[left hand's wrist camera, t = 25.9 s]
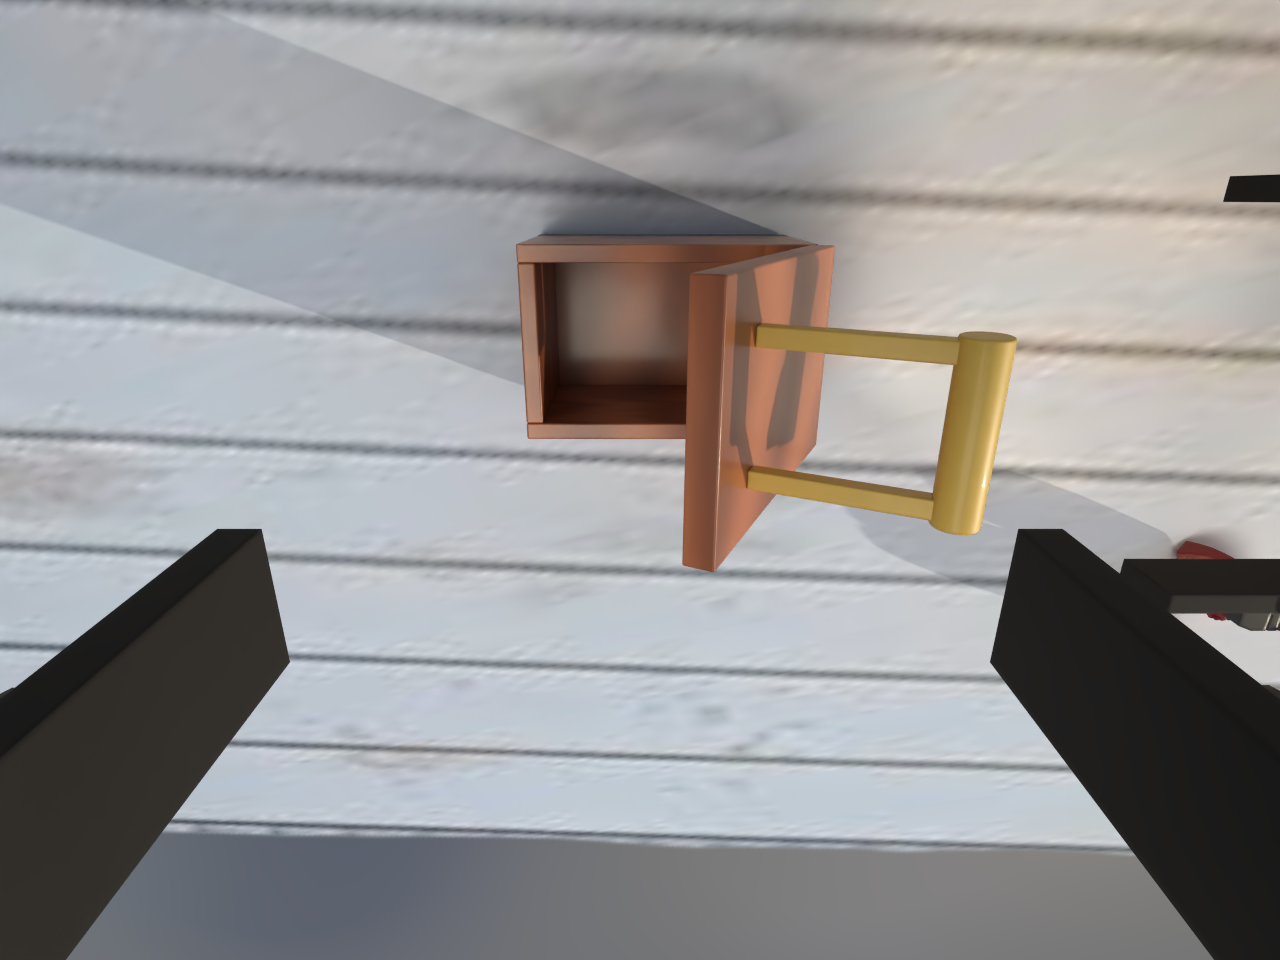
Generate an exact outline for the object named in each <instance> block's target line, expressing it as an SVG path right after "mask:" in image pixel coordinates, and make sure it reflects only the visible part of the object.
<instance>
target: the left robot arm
mask: <svg viewBox="0 0 1280 960" xmlns="http://www.w3.org/2000/svg"><path fill="white" fill-rule="evenodd" d="M289 663H290V660H289V656H288V651H287V646H286V642H285V637H284V632H283V627H282V623H281V618H280V613H279V609H278V604H277V599H276V595H275V590H274V585H273V580H272V576H271V571H270V566H269V562H268V557H267V552H266V548H265V543H264V538H263V534H262V529H217V530H215V531H214V532H213V533H212V534H210V535H209V536H208V537H207V538H205V539H204V540H203V541H201V542H200V543H199V544H198V545H196V546H195V547H194V548H193V549H191V550H190V551H189V552H187V553H186V554H185V555H184V556H182V557H181V558H180V559H178V560H177V561H176V562H175V563H173V564H172V565H171V566H170V567H168V568H167V569H166V570H164V571H163V572H162V573H161V574H159V575H158V576H157V577H156V578H154V579H153V580H152V581H150V582H149V583H148V584H147V585H145V586H144V587H143V588H142V589H140V590H139V591H138V592H136V593H135V594H134V595H133V596H131V597H130V598H129V599H128V600H126V601H125V602H124V603H122V604H121V605H120V606H119V607H117V608H116V609H115V610H113V611H112V612H111V613H110V614H108V615H107V616H106V617H105V618H103V619H102V620H101V621H99V622H98V623H97V624H96V625H94V626H93V627H92V628H91V629H89V630H88V631H87V632H85V633H84V634H83V635H82V636H80V637H79V638H78V639H77V640H75V641H74V642H73V643H71V644H70V645H69V646H68V647H66V648H65V649H64V650H63V651H61V652H60V653H59V654H57V655H56V656H55V657H54V658H52V659H51V660H50V661H48V662H47V663H46V664H45V665H43V666H42V667H41V668H40V669H38V670H37V671H36V672H34V673H33V674H32V675H31V676H29V677H28V678H27V679H26V680H24V681H23V682H22V683H20V684H19V685H18V686H17V687H15V688H11V689H9V690H7V691H5V692H3V693H1V694H0V960H66V959H67V957H68V956H69V955H70V953H71V952H72V951H73V949H74V948H75V947H76V945H77V944H78V943H79V942H80V940H81V939H82V938H83V936H84V935H85V934H86V932H87V931H88V930H89V928H90V927H91V926H92V924H93V923H94V922H95V920H96V919H97V918H98V916H99V915H100V914H101V912H102V911H103V910H104V908H105V907H106V906H107V904H108V903H109V902H110V900H111V899H112V898H113V896H114V895H115V894H116V892H117V891H118V890H119V888H120V887H121V886H122V884H123V883H124V882H125V880H126V879H127V878H128V876H129V875H130V874H131V872H132V871H133V870H134V869H135V867H136V866H137V864H138V863H139V862H140V861H141V859H142V858H143V857H144V855H145V854H146V853H147V851H148V850H149V849H150V847H151V846H152V845H153V843H154V842H155V841H156V839H157V838H158V837H159V835H160V834H161V833H162V831H163V830H164V829H165V827H166V826H167V825H168V823H169V822H170V821H171V819H172V818H173V817H174V815H175V814H176V813H177V811H178V810H179V809H180V807H181V806H182V805H183V803H184V802H185V801H186V799H187V798H188V797H189V795H190V794H191V793H192V792H193V790H194V789H195V788H196V786H197V785H198V784H199V782H200V781H201V780H202V778H203V777H204V776H205V774H206V773H207V772H208V770H209V769H210V768H211V766H212V765H213V764H214V762H215V761H216V760H217V758H218V757H219V756H220V754H221V753H222V752H223V750H224V749H225V748H226V746H227V745H228V744H229V742H230V741H231V740H232V738H233V737H234V736H235V734H236V733H237V732H238V730H239V729H240V728H241V726H242V725H243V724H244V722H245V721H246V720H247V718H248V717H249V716H250V715H251V713H252V712H253V711H254V709H255V708H256V707H257V705H258V704H259V703H260V701H261V700H262V699H263V697H264V696H265V695H266V693H267V692H268V691H269V689H270V688H271V687H272V685H273V684H274V683H275V681H276V680H277V679H278V677H279V676H280V675H281V673H282V672H283V671H284V669H285V668H286V667H287V665H288V664H289ZM990 663H991V664H992V665H993V667H994V668H995V669H996V671H997V672H998V673H999V675H1000V676H1001V677H1002V679H1003V680H1004V681H1005V683H1006V684H1007V685H1008V687H1009V688H1010V689H1011V691H1012V692H1013V693H1014V695H1015V696H1016V697H1017V699H1018V700H1019V701H1020V703H1021V704H1022V705H1023V707H1024V708H1025V709H1026V711H1027V712H1028V713H1029V715H1030V716H1031V717H1032V718H1033V720H1034V721H1035V722H1036V724H1037V725H1038V726H1039V728H1040V729H1041V730H1042V732H1043V733H1044V734H1045V736H1046V737H1047V738H1048V740H1049V741H1050V742H1051V744H1052V745H1053V746H1054V748H1055V749H1056V750H1057V752H1058V753H1059V754H1060V756H1061V757H1062V758H1063V760H1064V761H1065V762H1066V764H1067V765H1068V766H1069V768H1070V769H1071V770H1072V772H1073V773H1074V774H1075V776H1076V777H1077V778H1078V780H1079V781H1080V782H1081V784H1082V785H1083V786H1084V788H1085V789H1086V790H1087V792H1088V793H1089V794H1090V795H1091V797H1092V798H1093V799H1094V801H1095V802H1096V803H1097V805H1098V806H1099V807H1100V809H1101V810H1102V811H1103V813H1104V814H1105V815H1106V817H1107V818H1108V819H1109V821H1110V822H1111V823H1112V825H1113V826H1114V827H1115V829H1116V830H1117V831H1118V833H1119V834H1120V835H1121V837H1122V838H1123V839H1124V841H1125V842H1126V843H1127V845H1128V846H1129V847H1130V849H1131V850H1132V851H1133V853H1134V854H1135V855H1136V857H1137V858H1138V859H1139V861H1140V862H1141V863H1142V864H1143V866H1144V867H1145V869H1146V870H1147V871H1148V872H1149V874H1150V875H1151V876H1152V878H1153V879H1154V880H1155V882H1156V883H1157V884H1158V886H1159V887H1160V888H1161V890H1162V891H1163V892H1164V894H1165V895H1166V896H1167V898H1168V899H1169V900H1170V902H1171V903H1172V904H1173V906H1174V907H1175V908H1176V910H1177V911H1178V912H1179V914H1180V915H1181V916H1182V918H1183V919H1184V920H1185V922H1186V923H1187V924H1188V926H1189V927H1190V928H1191V930H1192V931H1193V932H1194V933H1195V935H1196V936H1197V938H1198V939H1199V940H1200V942H1201V943H1202V944H1203V946H1204V947H1205V948H1206V949H1207V951H1208V952H1209V953H1210V955H1211V956H1212V957H1213V959H1214V960H1280V691H1279V690H1277V689H1275V688H1273V687H1271V686H1270V685H1261V684H1260V683H1258V682H1257V681H1256V680H1254V679H1253V678H1252V677H1251V676H1249V675H1248V674H1247V673H1246V672H1244V671H1243V670H1242V669H1240V668H1239V667H1238V666H1237V665H1235V664H1234V663H1233V662H1232V661H1230V660H1229V659H1228V658H1226V657H1225V656H1224V655H1223V654H1221V653H1220V652H1219V651H1217V650H1216V649H1215V648H1214V647H1212V646H1211V645H1210V644H1209V643H1207V642H1206V641H1205V640H1203V639H1202V638H1201V637H1200V636H1198V635H1197V634H1196V633H1195V632H1193V631H1192V630H1191V629H1189V628H1188V627H1187V626H1186V625H1184V624H1183V623H1182V622H1181V621H1179V620H1178V619H1177V618H1175V617H1174V616H1173V615H1172V614H1170V613H1169V612H1168V611H1167V610H1165V609H1164V608H1163V607H1161V606H1160V605H1159V604H1158V603H1156V602H1155V601H1154V600H1152V599H1151V598H1150V597H1149V596H1147V595H1146V594H1145V593H1144V592H1142V591H1141V590H1140V589H1138V588H1137V587H1136V586H1135V585H1133V584H1132V583H1131V582H1130V581H1128V580H1127V579H1126V578H1124V577H1123V576H1122V575H1121V574H1119V573H1118V572H1117V571H1116V570H1114V569H1113V568H1112V567H1110V566H1109V565H1108V564H1107V563H1105V562H1104V561H1103V560H1102V559H1100V558H1099V557H1098V556H1096V555H1095V554H1094V553H1093V552H1091V551H1090V550H1089V549H1087V548H1086V547H1085V546H1084V545H1082V544H1081V543H1080V542H1079V541H1077V540H1076V539H1075V538H1073V537H1072V536H1071V535H1070V534H1068V533H1067V532H1066V531H1065V530H1063V529H1018V534H1017V538H1016V543H1015V548H1014V552H1013V557H1012V562H1011V566H1010V571H1009V576H1008V580H1007V585H1006V590H1005V595H1004V599H1003V604H1002V609H1001V613H1000V618H999V623H998V627H997V632H996V637H995V642H994V646H993V651H992V656H991V660H990Z"/></svg>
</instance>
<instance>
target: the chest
mask: <svg viewBox="0 0 1280 960" xmlns="http://www.w3.org/2000/svg"><path fill="white" fill-rule="evenodd" d="M809 245H818V244H814V243H810V242H807V241H803V240H799V239H795V238H792V237H788V236H786V235H538V236H537V237H535V238H532V239H529V240H527V241H524V242H522V243H519V244H517V245H516V250H517V262H518V282H519V299H520V316H521V333H522V350H523V367H524V384H525V401H526V418H527V435H528V438H529V439H686V406H687V367H688V328H689V289H690V274H691V273H694V272H698V271H703V270H707V269H711V268H715V267H720V266H724V265H728V264H732V263H737V262H741V261H745V260H749V259H754V258H758V257H762V256H767V255H771V254H775V253H779V252H784V251H788V250H792V249H796V248H801V247H805V246H809Z"/></svg>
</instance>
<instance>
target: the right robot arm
mask: <svg viewBox="0 0 1280 960" xmlns="http://www.w3.org/2000/svg"><path fill="white" fill-rule="evenodd" d="M1223 202H1280V175H1255V176H1230V179H1229V182H1228V186H1227V190H1226V193H1225V197H1224V200H1223ZM1120 574H1121V575H1122V576H1123V577H1124V578H1126V579H1127V580H1128V581H1130V582H1131V583H1132V584H1133V585H1135V586H1136V587H1137V588H1138V589H1140V590H1141V591H1142V592H1144V593H1145V594H1146V595H1147V596H1149V597H1150V598H1151V599H1152V600H1154V601H1155V602H1156V603H1158V604H1159V605H1160V606H1161V607H1163V608H1164V609H1165V610H1167V611H1168V612H1169V613H1221V614H1223V615H1224V616H1226V617H1227V618H1228V619H1230V620H1231V621H1233V622H1234V623H1235V624H1237V625H1238V626H1240V627H1243V628H1245V629H1248V630H1250V631H1265V630H1268V631H1276V630H1279V631H1280V559H1124V561H1123V565H1122V568H1121V572H1120Z"/></svg>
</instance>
